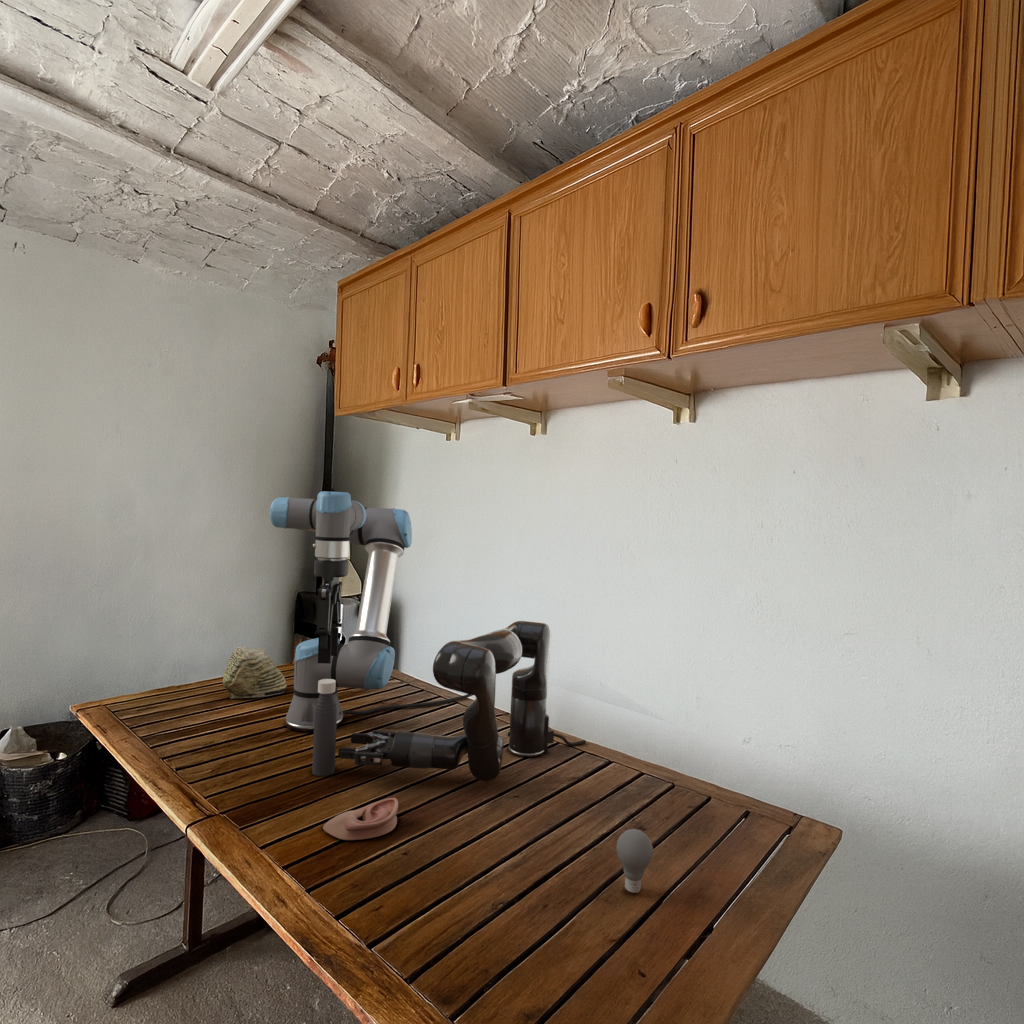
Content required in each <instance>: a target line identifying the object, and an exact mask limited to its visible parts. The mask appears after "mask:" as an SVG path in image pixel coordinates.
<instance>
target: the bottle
mask: <svg viewBox="0 0 1024 1024" xmlns="http://www.w3.org/2000/svg"><path fill="white" fill-rule="evenodd" d="M336 725H337V705H336V701H335V698H334V695H333V694H332V693H330V694H321V695H319V698H318V701H317V704H316V706H315V712H314V732H313V740H312V741H313V744H312V767H311V769H312V770H311V772H312V774H313V775H314V776H317V777H328V776H331V775H332V774H334V773H335V771H336V749H337V748H336V745H337V727H336Z"/></svg>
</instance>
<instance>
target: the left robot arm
mask: <svg viewBox="0 0 1024 1024" xmlns="http://www.w3.org/2000/svg"><path fill="white" fill-rule="evenodd" d="M351 498H352V495H351V494H350V492H346V491H345V492H343V491H325V490H323V491H319V493H318V494H317V498H303V497H302V498H301V497H299V498H298V497H289V496H287V497H276V498H275V499H274V500H273V501H272V502H271V504H270V508H269V520H270V522H271V524H272V526H273V527H275V528H279V529H291V530H292V529H294V530H300V531H308V532H313V533H315V537H314V539H315V543H313V544H312V547H313V548H314V556H315V558H316V559H314V562H313V563H314V564H313V565H314V566H313V575H314V576H315V577H317V578H318V577H319V578H322V583H321V584H320V586H319V588H318V589H317V614H316V615H317V616H316V630H315V631H314V635H315V636H316V635H317V636H318V637H316V638H312V639H307V640H304V641H302V642H300V643H298V644H297V645H296V647H295V655H294V659H293V661H294V670H293V671H294V672H293V695H292V696H293V697H292V699H291V702H290V704H289V708H288V711H287V713H286V715H285V726H286V728H287V729H289V730H291V731H294V732H295V731H296V732H301V733H314V712H315V706H316V704H317V701H318V698H319V695H321V693H318V681H319V680H322V679H334V680H335V681H336V687H335V692H334V693H332V694H333V695H334V698H335V701H336V705H337V725H336V728H337V727H339V726H340V725H342V723H343V722H344V715H356V716H361V715H362V716H363V715H368V714H372V713H375V712H379V711H384V710H395V709H406V708H407V709H408V708H418V707H419V708H420V707H429V706H437V705H441V704H442V705H443V704H448V703H453V702H456V701H460V700H465V699H468V698H469V697H472V696H474V695H473V694H463V695H459V696H455V697H452V698H448V699H447V698H446V699H441V700H435V701H428V702H420V703H419V702H418V703H407V704H395V705H383V706H377V707H374V708H370V709H367V710H366V709H365V710H360V711H358V710H343V709H342V706H341V702H340V699H339V695H338V688H340V689H341V688H342V689H343V688H344V689H360V690H361V689H363V690H366V691H370V690H382V689H383V688H384V687H385V686H387V684H388V683H389V681H390V678H391V677H392V676H391V675H392V673H393V671H394V666H395V657H396V650H395V648H394V647H392V646H391V640H390V639H389V638H388V636H387V632H388V625H389V619H390V613H391V605H392V599H393V593H394V587H395V580H396V573H397V567H398V561H399V558H401V557H402V556H403V555H404V554H405V549H408V548H410V547H411V546H412V542H413V531H412V529H413V528H412V522H411V517H410V515H409V512H408V511H407V510H406V509H401V508H399V509H398V508H394V507H392V508H384V507H383V508H382V507H365V506H364V505H363V504H362V503H361V502H359V501H357V500H354V499H351ZM351 544H352V545H357V546H364V550H365V552H367V554H368V558H367V564H366V570H365V574H364V575H365V576H364V582H363V588H362V593H361V599H360V604H359V610H358V616H357V621H356V627H355V632H353V633H352V634H351V635H350V636H348V641H347V644H344V643H343V644H342V643H341V641H340V639H339V628H342V627H343V622H342V590H343V589H342V588H343V581H340V578H345V577H347V576H348V575H349V561H348V558H349V557H350V545H351Z"/></svg>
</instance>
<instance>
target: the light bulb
mask: <svg viewBox="0 0 1024 1024" xmlns="http://www.w3.org/2000/svg"><path fill="white" fill-rule="evenodd" d="M615 849H616V854H617V857H618V859H619V861H620V863H621V865H622V867H623V873H624V874H623V875H624V876H625V878H624V888H625V890H627V891H628V892H630V893H634V894H635V893H639V892H640V891H641V889H642V887H641V886H642V879H643V877H644V875H645V871H646V868H647V867H648V866H649V864H650V863H651V861H652V859H653V855H654V847H653V843H652V841H651V838H649V836H648V835H647V834H646V833H645V832H643V831H642V830H641V829H636V828H629V829H627V830H625V831H623V832H622V833H621V834H620V835H619V837H618V839H617V841H616V847H615Z"/></svg>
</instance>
